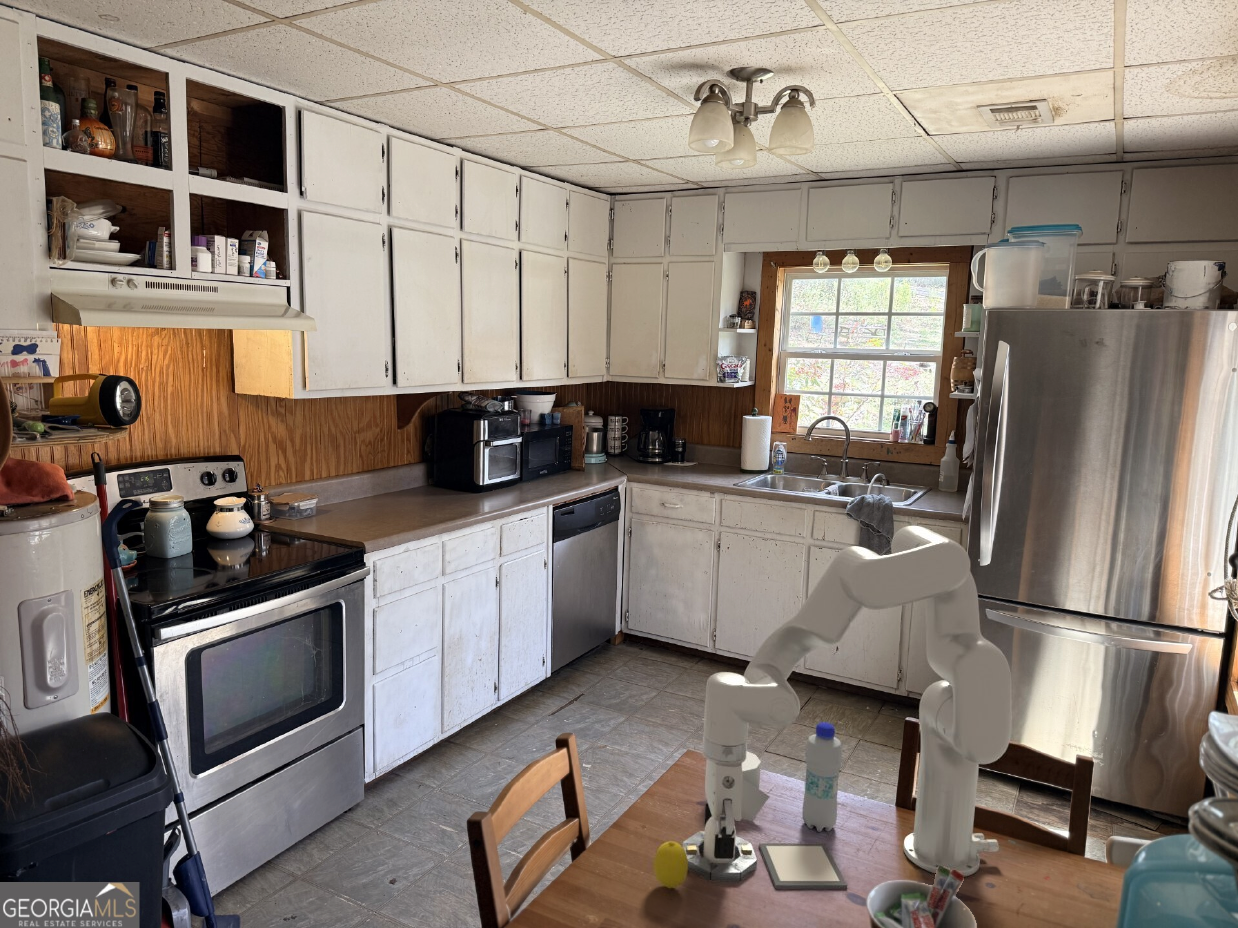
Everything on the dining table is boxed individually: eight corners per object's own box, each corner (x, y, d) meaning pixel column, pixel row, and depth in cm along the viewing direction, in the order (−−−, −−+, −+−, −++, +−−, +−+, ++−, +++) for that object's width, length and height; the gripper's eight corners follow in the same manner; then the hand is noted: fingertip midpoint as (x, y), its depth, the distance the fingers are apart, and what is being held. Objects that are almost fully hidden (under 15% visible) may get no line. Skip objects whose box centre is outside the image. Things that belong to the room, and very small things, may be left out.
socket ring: (746, 839, 149) (746, 828, 148) (761, 881, 137) (762, 868, 136) (679, 839, 148) (679, 827, 148) (688, 881, 136) (689, 868, 136)
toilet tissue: (756, 826, 153) (758, 783, 152) (700, 798, 162) (702, 757, 161) (783, 809, 160) (786, 767, 159) (728, 783, 169) (730, 743, 168)
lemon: (676, 902, 130) (679, 855, 129) (646, 889, 133) (648, 843, 132) (692, 884, 135) (694, 839, 134) (663, 873, 138) (665, 828, 137)
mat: (824, 846, 147) (825, 842, 147) (847, 888, 136) (847, 884, 135) (759, 846, 147) (759, 842, 147) (775, 888, 135) (775, 884, 135)
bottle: (838, 837, 151) (845, 733, 148) (800, 831, 152) (807, 728, 150) (836, 818, 157) (843, 718, 155) (800, 813, 158) (806, 713, 156)
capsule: (738, 867, 140) (741, 823, 139) (708, 870, 139) (711, 825, 138) (728, 849, 145) (730, 806, 145) (699, 852, 144) (701, 809, 143)
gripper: (757, 771, 132) (750, 871, 134) (736, 725, 149) (730, 814, 151) (711, 770, 131) (704, 871, 133) (695, 724, 148) (689, 813, 150)
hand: (718, 840), depth 142 cm, fingers open, 9 cm apart
